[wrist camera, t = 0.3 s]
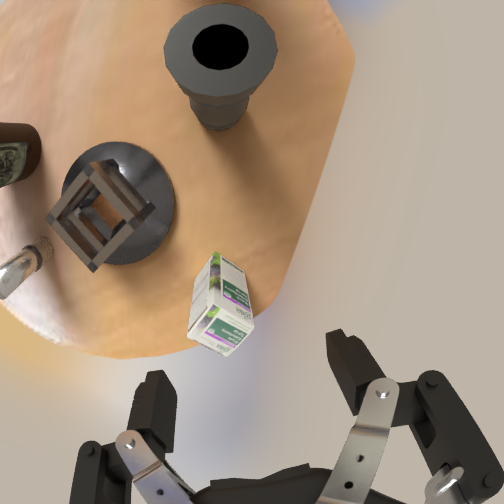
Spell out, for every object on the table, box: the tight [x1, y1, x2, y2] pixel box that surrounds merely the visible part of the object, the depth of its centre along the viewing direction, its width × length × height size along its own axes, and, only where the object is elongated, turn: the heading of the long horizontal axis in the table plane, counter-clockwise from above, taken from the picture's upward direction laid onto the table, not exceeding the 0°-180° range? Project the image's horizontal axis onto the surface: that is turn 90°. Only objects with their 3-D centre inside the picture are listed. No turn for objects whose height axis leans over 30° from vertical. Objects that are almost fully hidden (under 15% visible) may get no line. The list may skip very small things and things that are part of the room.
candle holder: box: [164, 3, 278, 131], centre depth 22 cm, size 6×6×25 cm
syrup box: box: [187, 252, 255, 357], centre depth 36 cm, size 6×6×14 cm
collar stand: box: [46, 142, 175, 273], centre depth 32 cm, size 18×18×10 cm
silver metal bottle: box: [0, 237, 53, 299], centre depth 31 cm, size 4×4×14 cm
